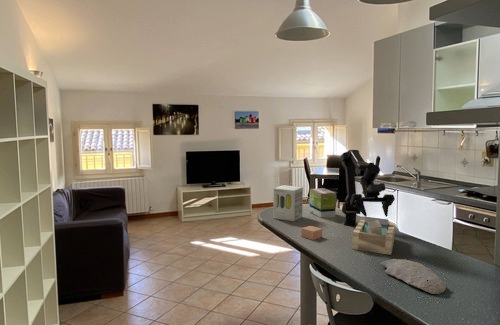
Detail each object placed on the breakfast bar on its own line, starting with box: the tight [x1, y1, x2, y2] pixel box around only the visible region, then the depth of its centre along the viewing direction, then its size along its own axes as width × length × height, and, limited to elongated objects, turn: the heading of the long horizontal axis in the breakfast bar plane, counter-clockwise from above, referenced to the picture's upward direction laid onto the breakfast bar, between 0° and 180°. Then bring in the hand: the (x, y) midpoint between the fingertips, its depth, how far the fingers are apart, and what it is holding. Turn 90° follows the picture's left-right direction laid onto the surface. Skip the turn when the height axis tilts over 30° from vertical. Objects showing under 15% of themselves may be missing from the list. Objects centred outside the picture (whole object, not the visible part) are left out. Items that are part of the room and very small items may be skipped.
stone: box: [380, 258, 447, 295], centre depth 124 cm, size 16×6×25 cm
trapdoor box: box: [351, 219, 396, 256], centre depth 160 cm, size 23×16×7 cm
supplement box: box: [272, 184, 304, 222], centre depth 203 cm, size 13×13×18 cm
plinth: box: [300, 225, 323, 241], centre depth 169 cm, size 7×7×4 cm
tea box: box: [308, 187, 337, 219], centre depth 211 cm, size 15×10×15 cm
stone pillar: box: [368, 220, 382, 235], centre depth 156 cm, size 4×4×7 cm
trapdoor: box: [363, 216, 389, 235], centre depth 160 cm, size 18×10×3 cm, turn 154°
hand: (376, 216), depth 155 cm, fingers open, 9 cm apart
